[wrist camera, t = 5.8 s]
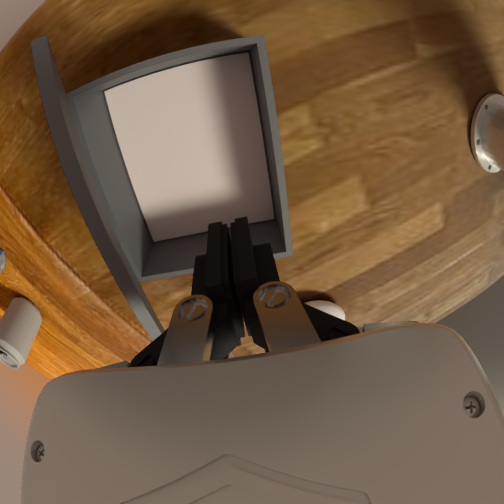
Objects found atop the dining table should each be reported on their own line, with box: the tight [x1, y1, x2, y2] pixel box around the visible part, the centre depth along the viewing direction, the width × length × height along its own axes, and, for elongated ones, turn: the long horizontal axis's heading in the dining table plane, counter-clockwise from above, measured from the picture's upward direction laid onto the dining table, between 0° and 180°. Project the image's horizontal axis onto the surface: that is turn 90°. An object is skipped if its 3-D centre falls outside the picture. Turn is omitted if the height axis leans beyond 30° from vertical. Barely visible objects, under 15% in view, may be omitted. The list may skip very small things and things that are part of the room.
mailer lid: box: [31, 35, 165, 341], centre depth 16 cm, size 17×20×1 cm
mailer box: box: [66, 35, 293, 282], centre depth 24 cm, size 16×20×7 cm
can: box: [0, 297, 42, 369], centre depth 34 cm, size 8×8×12 cm
